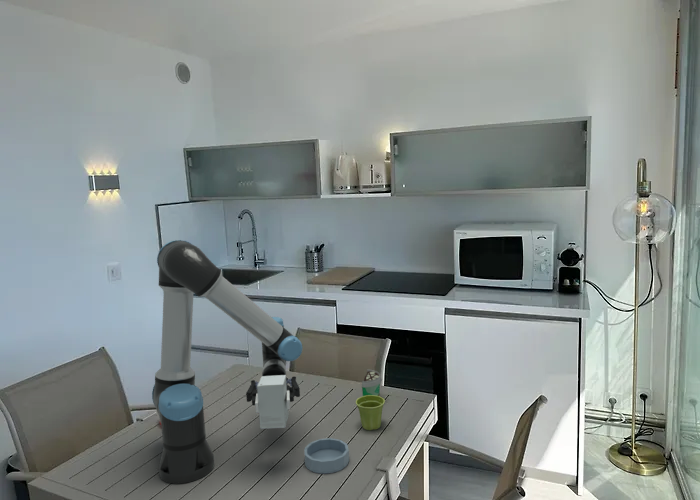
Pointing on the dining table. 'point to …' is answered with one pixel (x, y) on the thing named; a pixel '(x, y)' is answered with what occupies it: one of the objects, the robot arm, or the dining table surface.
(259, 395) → the supplement box
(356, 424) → the dining table surface
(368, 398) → the plant pot
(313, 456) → the bowl
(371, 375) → the food container
